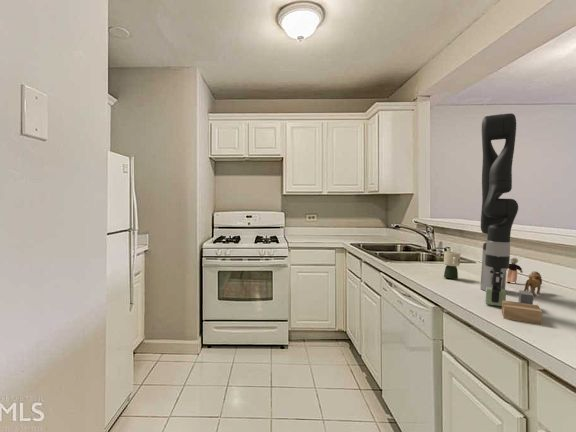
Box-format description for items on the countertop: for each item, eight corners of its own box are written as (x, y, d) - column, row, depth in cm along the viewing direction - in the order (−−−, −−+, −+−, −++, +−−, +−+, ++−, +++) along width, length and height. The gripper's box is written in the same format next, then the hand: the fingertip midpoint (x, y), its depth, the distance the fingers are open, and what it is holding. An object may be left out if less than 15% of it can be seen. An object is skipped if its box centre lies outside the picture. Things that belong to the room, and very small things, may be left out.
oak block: (501, 311, 120) (502, 300, 120) (536, 317, 115) (537, 305, 115) (503, 318, 113) (504, 306, 112) (541, 324, 108) (542, 311, 108)
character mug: (461, 281, 165) (463, 254, 165) (445, 280, 167) (447, 253, 166) (455, 276, 176) (456, 251, 176) (440, 275, 178) (441, 250, 177)
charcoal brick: (518, 305, 129) (519, 290, 129) (529, 306, 128) (530, 291, 127) (520, 309, 124) (521, 293, 124) (532, 310, 122) (533, 295, 122)
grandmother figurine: (504, 283, 166) (506, 256, 165) (502, 281, 169) (503, 255, 169) (523, 284, 164) (525, 258, 163) (519, 283, 168) (521, 256, 167)
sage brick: (485, 303, 127) (486, 289, 126) (485, 301, 130) (486, 286, 130) (505, 306, 124) (506, 291, 124) (504, 304, 127) (505, 289, 127)
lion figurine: (527, 290, 154) (528, 269, 153) (542, 292, 150) (543, 271, 150) (521, 296, 143) (523, 274, 142) (537, 298, 139) (539, 276, 139)
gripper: (484, 250, 134) (482, 294, 135) (486, 255, 121) (483, 304, 122) (507, 252, 131) (504, 297, 132) (512, 257, 118) (508, 307, 119)
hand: (494, 300), depth 127 cm, fingers closed on sage brick, 3 cm apart
